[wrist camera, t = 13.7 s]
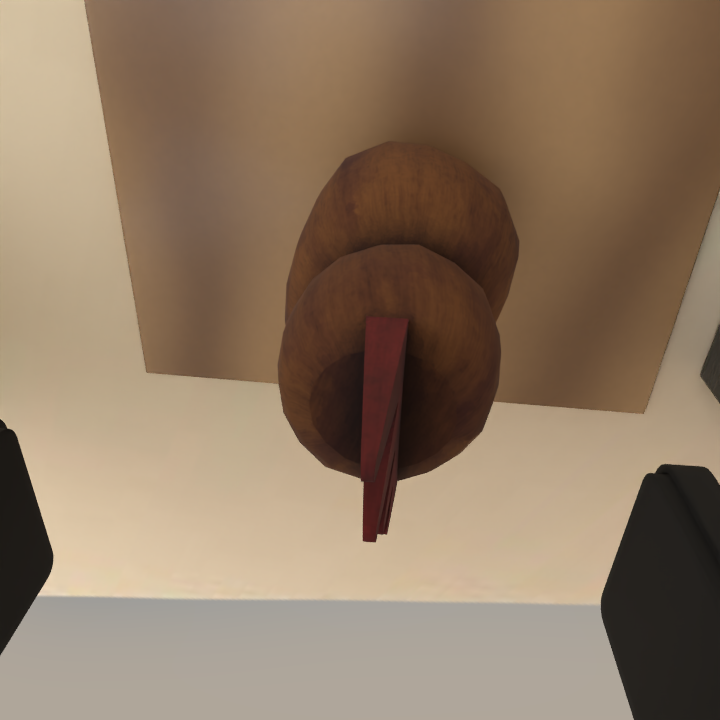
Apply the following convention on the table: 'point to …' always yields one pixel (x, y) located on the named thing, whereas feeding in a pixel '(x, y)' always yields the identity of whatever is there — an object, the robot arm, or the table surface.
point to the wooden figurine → (396, 317)
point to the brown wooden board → (419, 126)
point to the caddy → (713, 367)
